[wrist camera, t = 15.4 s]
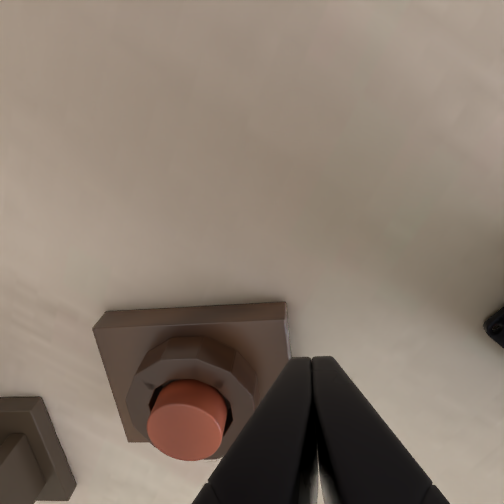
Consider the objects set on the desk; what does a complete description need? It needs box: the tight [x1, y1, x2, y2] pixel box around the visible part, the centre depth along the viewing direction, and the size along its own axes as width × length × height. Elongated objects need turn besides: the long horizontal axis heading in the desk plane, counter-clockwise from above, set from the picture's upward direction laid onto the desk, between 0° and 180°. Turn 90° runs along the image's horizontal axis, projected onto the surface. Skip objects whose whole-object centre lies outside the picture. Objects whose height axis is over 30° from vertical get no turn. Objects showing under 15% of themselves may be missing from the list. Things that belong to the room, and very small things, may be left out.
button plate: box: [92, 302, 292, 459], centre depth 22 cm, size 10×8×4 cm
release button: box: [147, 379, 227, 461], centre depth 20 cm, size 4×4×2 cm
